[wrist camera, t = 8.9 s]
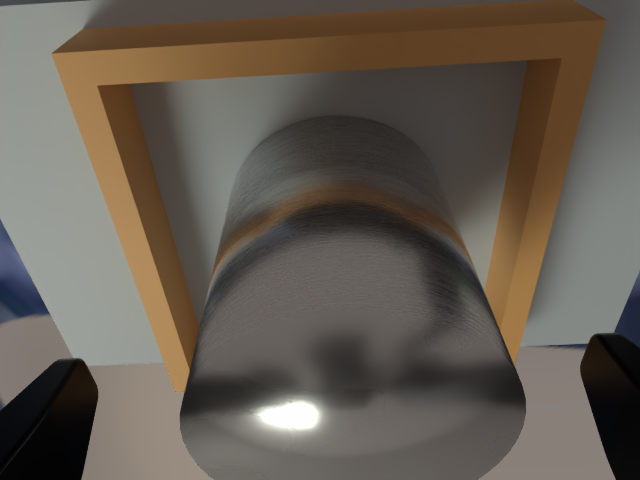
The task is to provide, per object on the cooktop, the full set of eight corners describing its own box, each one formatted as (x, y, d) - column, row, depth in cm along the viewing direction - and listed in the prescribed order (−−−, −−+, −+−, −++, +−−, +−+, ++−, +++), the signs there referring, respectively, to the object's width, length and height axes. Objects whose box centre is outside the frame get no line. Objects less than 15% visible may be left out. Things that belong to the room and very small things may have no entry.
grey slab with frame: (691, -62, 11) (838, -28, 8) (575, 286, 18) (634, 382, 14) (-37, -15, 12) (-166, 35, 9) (103, 309, 18) (58, 407, 15)
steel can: (452, 108, 11) (562, 300, 6) (433, 288, 14) (497, 509, 9) (212, 122, 11) (139, 322, 6) (245, 298, 14) (213, 522, 9)
